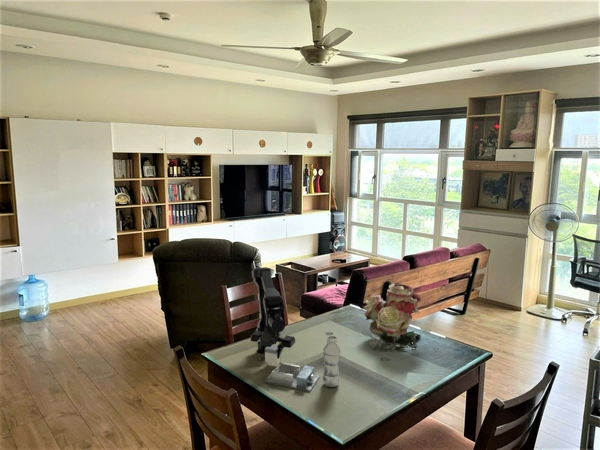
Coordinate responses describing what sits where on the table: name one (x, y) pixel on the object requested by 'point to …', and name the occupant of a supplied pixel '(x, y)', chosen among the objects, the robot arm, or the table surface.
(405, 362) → the table surface
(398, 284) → the rose bouquet
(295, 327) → the table surface
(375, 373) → the table surface
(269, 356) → the grey rectangular block
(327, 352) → the plastic bottle
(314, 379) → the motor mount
